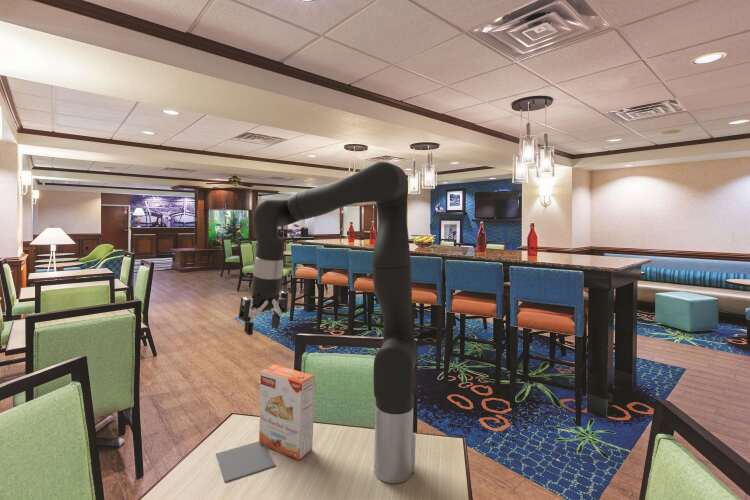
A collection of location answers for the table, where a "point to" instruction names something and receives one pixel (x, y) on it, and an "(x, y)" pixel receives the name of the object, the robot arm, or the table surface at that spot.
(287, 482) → the table surface
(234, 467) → the mat
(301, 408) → the cracker box
